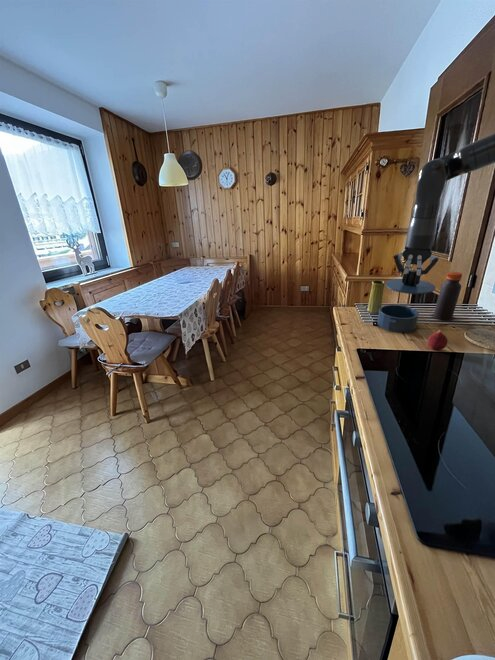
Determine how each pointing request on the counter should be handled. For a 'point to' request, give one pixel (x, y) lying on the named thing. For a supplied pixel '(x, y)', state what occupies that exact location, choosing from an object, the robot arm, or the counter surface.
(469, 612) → the counter surface
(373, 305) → the vase
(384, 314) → the pot
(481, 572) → the counter surface
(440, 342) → the onion
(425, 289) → the lid
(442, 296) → the bottle
